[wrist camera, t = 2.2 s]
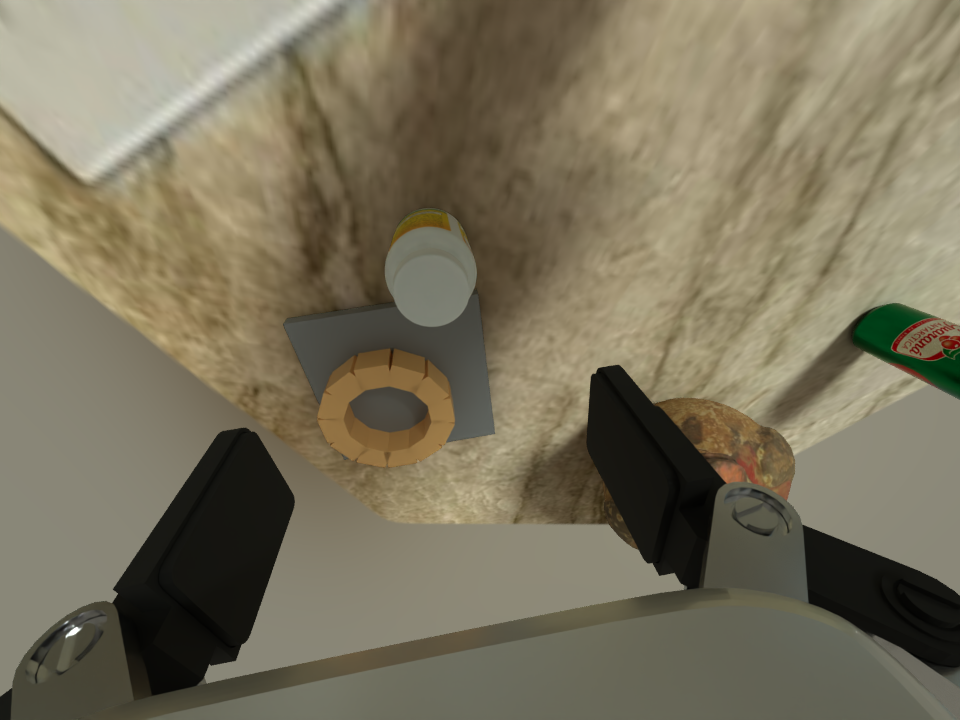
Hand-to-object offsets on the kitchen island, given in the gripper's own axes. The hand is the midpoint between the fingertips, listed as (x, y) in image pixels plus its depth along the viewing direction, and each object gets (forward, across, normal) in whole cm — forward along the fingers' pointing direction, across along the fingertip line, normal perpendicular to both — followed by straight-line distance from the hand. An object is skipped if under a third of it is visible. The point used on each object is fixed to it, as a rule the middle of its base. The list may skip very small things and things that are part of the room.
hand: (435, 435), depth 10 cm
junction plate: (+20, +4, +11) cm, 23 cm away
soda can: (+20, -42, +14) cm, 49 cm away
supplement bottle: (+20, 0, 0) cm, 20 cm away
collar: (+19, +6, +13) cm, 24 cm away
